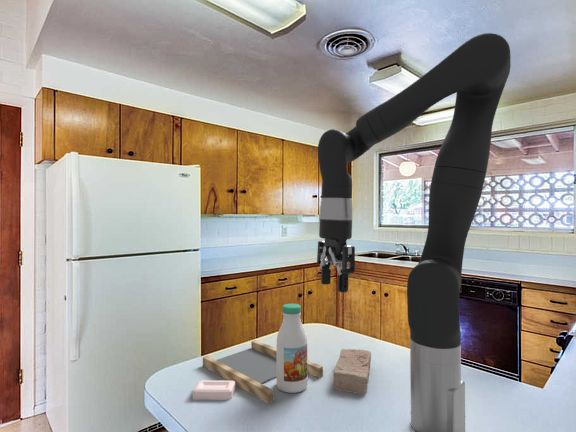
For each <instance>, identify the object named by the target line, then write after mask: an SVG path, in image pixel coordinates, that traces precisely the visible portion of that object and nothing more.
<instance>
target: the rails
mask: <svg viewBox="0 0 576 432" xmlns="http://www.w3.org/2000/svg"><path fill="white" fill-rule="evenodd" d="M250 348H251V349H254V350H256V351H258V352H261V353H263V354H265V355H268V356H270V357H272V358H275V359H276V347H274V346H271V345H269V344H266V343H263V342H261V341H259V340H256V339H254V340H251V347H250ZM217 360H218V359H215V358H213V357H211V356H209V355H206V356H203V357H202V367H204V368H205V367H206V369H207V368H208V369H207V370H209V369H210V370H209V371H210V372H212V371H213V372H212V373H214V372H215V373H214V374H216V373H217V374H216V375H218V374H219V375H220V376H219V375H218V376H219V377H221V376H222V377H221V378H223V379H224V380H226V379H227V380H226V381H228V380H229V381H235V386H237V387H239V388H241V389H243V390H244V391H245V392H247V393H249V394H251V395H252V396H254V397H256V398H258V399H260V400H261V401H263V402H265V403H267V404H269V405H270V404H271V403H273V402H275V401H274V400H275V398H274V397H275V395H274V394H275V392H274V389H272V388H270V387H268V386H267V385H264V384H261V383H259V382H257V381H255V380H253V379H251V378H249V377H247V376H245V375H244V374H242V373H240V372H238V371H236V370H234V369H232V368H230V367H228V366H226V365H224V364H223V363H221V362H219V361H217ZM323 370H324V366H322V365H320V364H319V363H315V362H313V361H309V360H308V374H309V375H311V376H314V377H317V378H318V379H319V378H321V377H323V376H324V375H323V374H324V371H323Z"/></svg>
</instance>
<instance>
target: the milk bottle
mask: <svg viewBox="0 0 576 432" xmlns="http://www.w3.org/2000/svg"><path fill="white" fill-rule="evenodd" d="M281 310H282V315H283V316H282V317H283V319H282V321H281V322H282V323H281V324H280V328H279V329H278V332H277V336H276V347H275V348H276V376H277V378H276V386H277V388H278V389H279V390H280V391H281V392H283V393H284V392H285V393H288V394H289V393H290V394H295V393H301V392H303V391H304V390H306V389H307V387H308V384H309V383H308V380H309V379H308V376H309V375H308V374H309V373H308V361H309V360H308V337H307V334H306V330H305V327H304V326H303V323H302V320H301V316H302V315H301V314H302V313H301V312H302V306H301V304H298V303H285V304H283V305H282V309H281Z"/></svg>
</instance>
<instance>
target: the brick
mask: <svg viewBox="0 0 576 432" xmlns="http://www.w3.org/2000/svg"><path fill="white" fill-rule="evenodd" d="M371 360H372V353H371V351H369V350H366V349H354V348H353V349H352V348H351V349H350V348H347V349H346V348H342V349H340V354H339V357H338V359H337V361H336V364H335V366H334V369H333V372H332V373H333V381H332V382H333V383H332V384H333V387H332V388H333V389H334V390H336V391H343V392H348V393H349V392H350V393H355V394H358V395H359V394H361V395H365V394H367V393H368V383H369V376H370V368H371Z"/></svg>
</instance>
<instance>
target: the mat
mask: <svg viewBox="0 0 576 432" xmlns="http://www.w3.org/2000/svg"><path fill="white" fill-rule="evenodd" d="M216 360H217V361H219V362H221V363H223V364H224V365H226V366H228V367H230V368H232V369H234V370H236V371H238V372H240V373H242V374H244V375H245V376H247V377H249V378H251V379H253V380H255V381H257V382H259V383H261V384H263V385H264V384H266V383H268V382H270V381H272V380H275V379H277V376H276V359H275V358H272V357H270V356H268V355H265V354H263V353H261V352H258V351H256V350H254V349H251V347H249V348H246V349H244V350H241V351H238V352H236V353H232V354H229V355H226V356H224V357H221V358H218V359H216Z"/></svg>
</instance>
